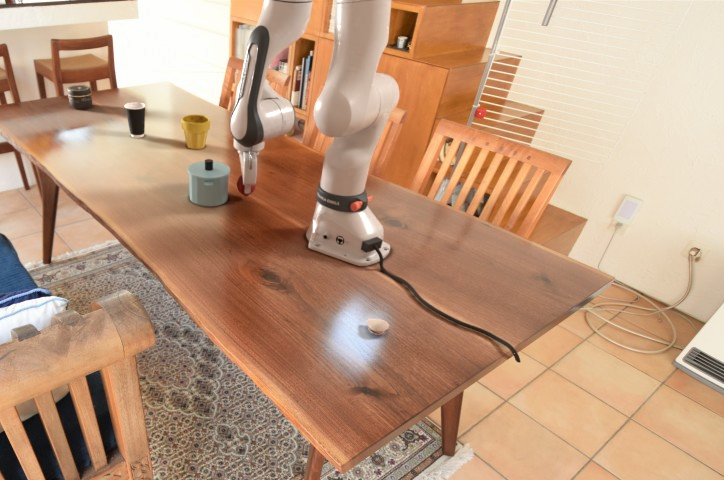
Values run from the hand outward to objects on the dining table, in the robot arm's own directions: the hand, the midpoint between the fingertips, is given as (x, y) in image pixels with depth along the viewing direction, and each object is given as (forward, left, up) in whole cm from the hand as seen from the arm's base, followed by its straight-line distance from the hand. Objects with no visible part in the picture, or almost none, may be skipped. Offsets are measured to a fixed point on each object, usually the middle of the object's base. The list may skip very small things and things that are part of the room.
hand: (246, 187), depth 147 cm
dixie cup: (+67, -8, -4) cm, 67 cm away
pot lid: (+8, +8, +5) cm, 12 cm away
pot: (+8, +8, -4) cm, 12 cm away
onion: (0, 0, -3) cm, 3 cm away
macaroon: (-62, +24, -4) cm, 67 cm away
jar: (+113, -11, -4) cm, 113 cm away
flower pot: (+44, -18, -4) cm, 47 cm away
